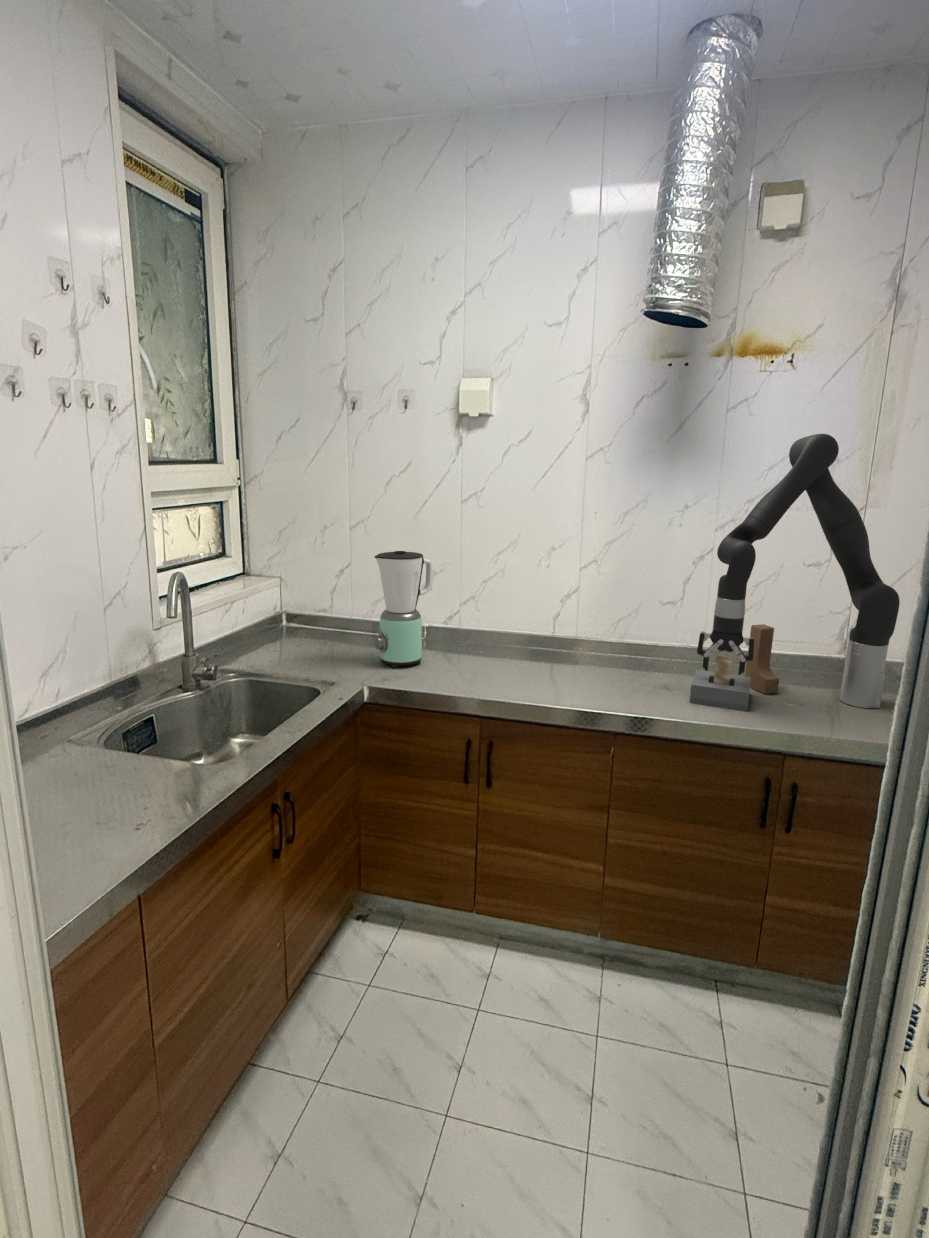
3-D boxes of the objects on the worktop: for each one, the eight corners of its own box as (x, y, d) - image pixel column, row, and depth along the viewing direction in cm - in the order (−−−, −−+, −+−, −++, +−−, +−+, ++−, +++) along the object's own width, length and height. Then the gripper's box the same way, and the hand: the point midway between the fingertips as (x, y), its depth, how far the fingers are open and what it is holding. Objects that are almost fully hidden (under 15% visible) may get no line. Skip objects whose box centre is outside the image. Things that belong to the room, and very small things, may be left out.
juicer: (386, 672, 203) (385, 556, 195) (367, 661, 214) (365, 550, 206) (440, 663, 213) (442, 552, 205) (420, 652, 224) (420, 546, 216)
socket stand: (748, 693, 191) (750, 676, 190) (747, 711, 178) (749, 693, 177) (694, 686, 197) (696, 669, 195) (689, 702, 184) (691, 684, 183)
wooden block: (778, 693, 192) (786, 631, 188) (764, 694, 191) (772, 632, 186) (756, 683, 200) (764, 623, 196) (743, 684, 199) (750, 624, 195)
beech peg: (728, 691, 188) (732, 657, 186) (727, 696, 184) (731, 661, 182) (713, 689, 190) (716, 655, 187) (712, 694, 186) (716, 659, 184)
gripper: (758, 614, 182) (751, 671, 186) (702, 608, 188) (696, 664, 192) (758, 620, 176) (750, 679, 180) (700, 614, 181) (694, 672, 185)
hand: (722, 671), depth 186 cm, fingers open, 8 cm apart
